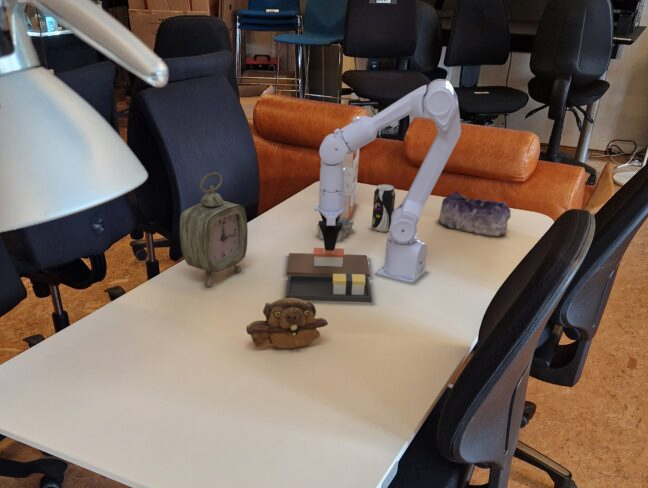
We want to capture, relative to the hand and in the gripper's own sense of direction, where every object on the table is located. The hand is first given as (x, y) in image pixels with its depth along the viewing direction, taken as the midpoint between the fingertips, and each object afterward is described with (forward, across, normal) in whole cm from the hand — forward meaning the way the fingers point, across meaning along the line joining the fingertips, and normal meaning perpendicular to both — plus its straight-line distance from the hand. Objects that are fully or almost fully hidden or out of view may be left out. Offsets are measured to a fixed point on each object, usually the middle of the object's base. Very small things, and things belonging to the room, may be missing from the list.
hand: (329, 244), depth 176 cm
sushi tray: (+6, +14, 0) cm, 15 cm away
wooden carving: (+6, +40, -8) cm, 42 cm away
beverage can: (+6, -28, +15) cm, 32 cm away
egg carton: (+6, -23, +2) cm, 24 cm away
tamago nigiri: (+6, +14, +4) cm, 16 cm away
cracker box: (+6, -42, +5) cm, 43 cm away
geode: (+7, -30, +41) cm, 51 cm away
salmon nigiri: (+5, 0, 0) cm, 5 cm away
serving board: (+6, 0, 0) cm, 6 cm away
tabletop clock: (+6, +8, -28) cm, 29 cm away
